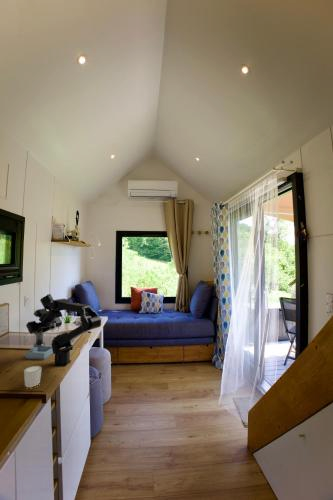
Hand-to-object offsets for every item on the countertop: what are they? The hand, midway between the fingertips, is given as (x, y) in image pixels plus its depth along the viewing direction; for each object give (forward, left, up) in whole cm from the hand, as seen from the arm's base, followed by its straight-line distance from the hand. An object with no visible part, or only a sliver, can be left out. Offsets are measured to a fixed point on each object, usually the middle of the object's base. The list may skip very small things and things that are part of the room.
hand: (38, 333), depth 142 cm
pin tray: (-2, -1, -13) cm, 13 cm away
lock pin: (-1, +1, -7) cm, 7 cm away
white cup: (-19, +31, -13) cm, 39 cm away
